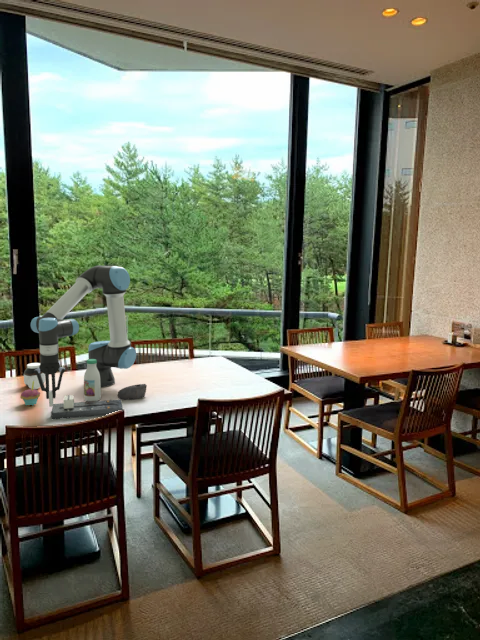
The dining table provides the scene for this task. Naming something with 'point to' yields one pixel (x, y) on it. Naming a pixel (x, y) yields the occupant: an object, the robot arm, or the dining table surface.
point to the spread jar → (32, 375)
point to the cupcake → (30, 396)
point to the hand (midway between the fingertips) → (51, 405)
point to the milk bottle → (92, 382)
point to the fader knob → (68, 401)
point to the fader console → (86, 409)
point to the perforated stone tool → (132, 392)
